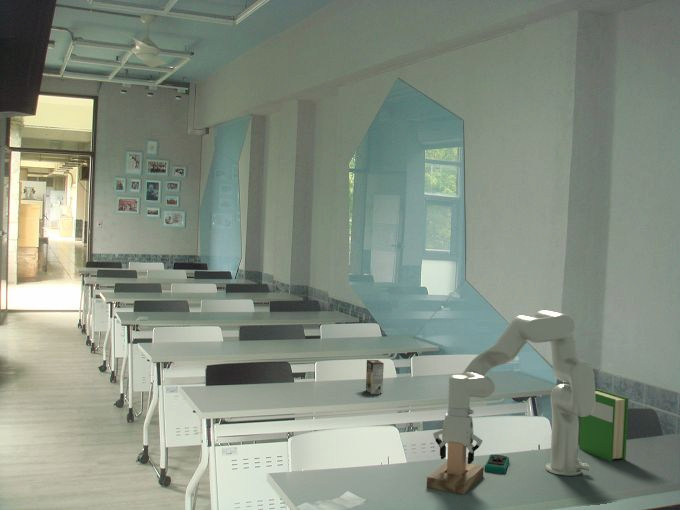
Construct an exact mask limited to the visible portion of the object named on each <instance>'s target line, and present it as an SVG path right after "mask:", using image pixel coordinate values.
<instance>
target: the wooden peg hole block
mask: <svg viewBox="0 0 680 510" xmlns="http://www.w3.org/2000/svg"><path fill="white" fill-rule="evenodd" d="M484 469H485V465H479V464H474V463H471V464H468V462H466V471H465V475H463V476H459V475H454V474H448V473H447V461H445V462H444V463H443V464H442V465H440V466H439V467H437V468H436V469H435V470H434V471H432V473H430V474H429V475H428V476H427V477H426V488H428V489H434V490H439V491H444V492H449V493H453V494H459V495H463V496H464V495H465V494H466V493H467V492H468V491H469V490H471V488H472V487H474V486H475V485H476V484H477V483H478V482H479V481H480V480H481V479H482V478H483V477H484V471H485V470H484Z"/></svg>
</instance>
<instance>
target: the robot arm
mask: <svg viewBox="0 0 680 510" xmlns="http://www.w3.org/2000/svg"><path fill="white" fill-rule="evenodd" d="M575 328H576V323H575V320H574V319H573V317H571V316H570V315H569V314H566V313H562V312H557V311H553V310H547V309H545V310H544V309H543V310H539V311H537V312H536V313H535V315H534V316H533V317H532V316H529V315H523V314H521V315H517V316H515V317H514V318H513V319H512V321H510V323H509V324H508V325H507V326H506V328H505V329H504V331H503V332H502V333H501V335H500V336H499V337H498V338H497V339H496V342H494V344H493V345H492V346H490V347H489V348H486V349H485V350H484V351H482V352H481V353H480V354H478V355H477V356H476V357H475V358H473V359H472V360H471V361H470V362H469V364H468V365H467V366H466V368H465V369H464V370H463V372H462V374H452V375H451V376H450V377H449V378H448V390H447V391H448V394H447V412H446V413H445V415H444V420H443V425H442V429H440V430H437V431H435V432H433V434H432V436H433V438H434V440H435V442H436V444H437V445H438V447H439V457H440V460H444V459H445V458H447V445H446V444H448V442H453V443H459V444H463V446H466V449H467V450H468V451H469V452H468V453H467V463H468V464H473V462H474V459H475V451H476V450H477V449H479V448H480V446H481V445H482V443H483V440H482V439H481V438H480V437H478V436H477V435H476V434H474V422H473V421H474V420H473V416H472V415H474V412H475V411H474V410H473V409H471V407H470V406H471V398H479V399H486V398H489V397H490V396H492V395H493V394H494V392H495V389H496V386H495V383H494V381H493V379H491V378H490V377H488V376H487V375H486V374H487V373H488V372H489V371H490V370H492V369H493V368H495V367H497V366H501V365H505V364H508V363H511V362H513V361H514V360H515V359H516V357H517V356H518V355H519V353H520V352H521V350H522V349H523V348H524V347H525V345H526V344H527V342H531V343H534V344H539V343H548V342H549V343H550V348H551V363H552V373H553V376H554V377H555V379H557V380H559V381H561V382H563V383H560V384H557V385H555V386H554V387H553V388H552V390H551V393H550V405H551V407H550V408H551V417H552V418H551V419H552V420H551V421H552V422H551V435H550V437H551V438H550V439H551V440H550V441H551V442H550V459H549V460H550V461H549V462H547V463H546V465H545V470H546V471H548V472H549V473H552V474H554V475H560V476H566V477H568V476H569V477H571V476H578V475H580V474H581V473H582V470H584V471H588V472H590V469H591V467H590V465H589V464H588V463H583V462H581V461H580V457H579V456H578V455H579V453H578V452H579V440H580V419H579V417H580V418H581V417H587V416H589V415H590V414H591V413H592V412H593V410H594V408H595V401H596V398H595V389H596V383H595V372H594V369H593V367H592V366H591V364H590V363H589V362H587V361H586V360H584V359H581V358H578V356H577V347H576V346H577V345H576V341H575V336H574V335H573V333H574V331H575ZM440 435H442V436H441V438H440ZM474 441H475V442H476V444H475V445H473V442H474Z"/></svg>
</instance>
